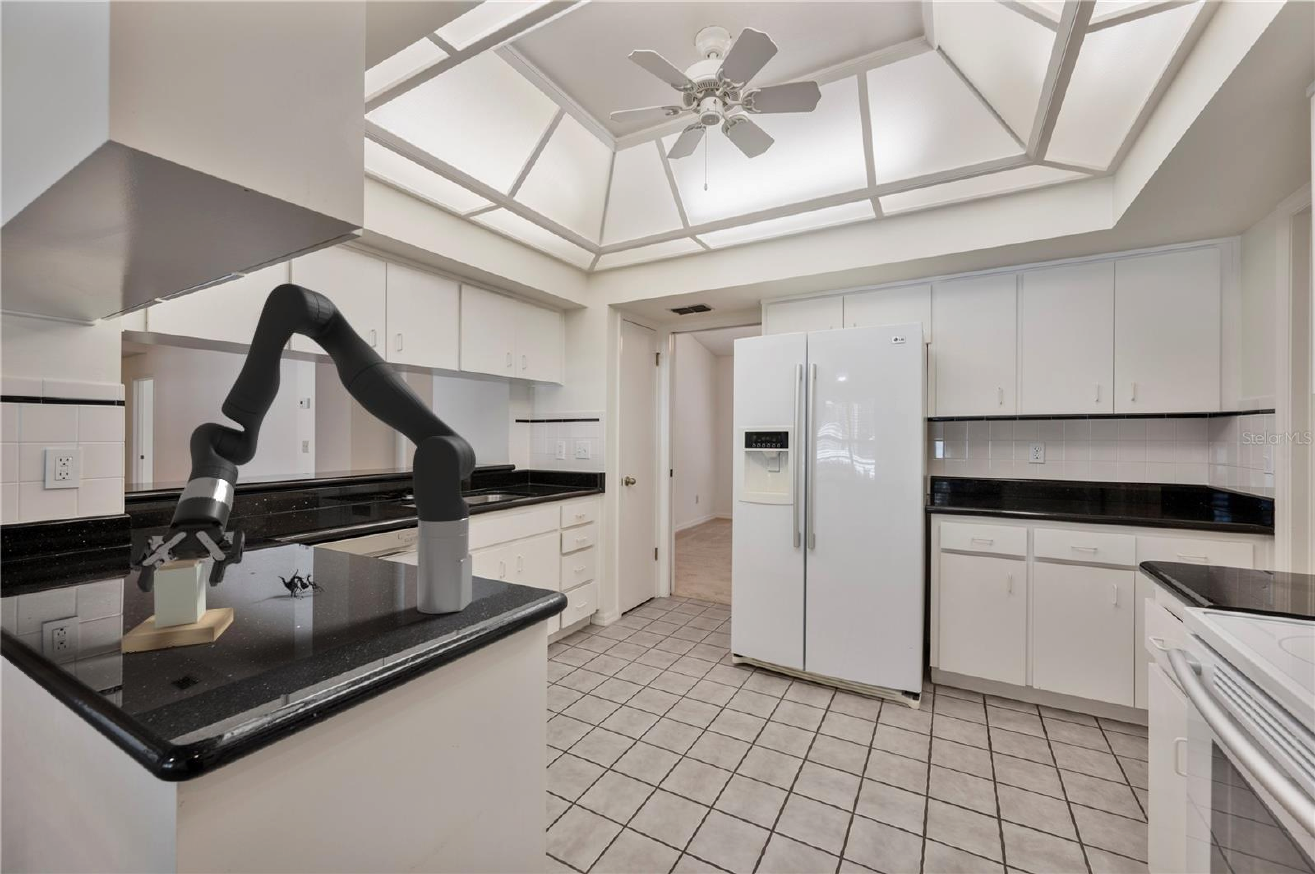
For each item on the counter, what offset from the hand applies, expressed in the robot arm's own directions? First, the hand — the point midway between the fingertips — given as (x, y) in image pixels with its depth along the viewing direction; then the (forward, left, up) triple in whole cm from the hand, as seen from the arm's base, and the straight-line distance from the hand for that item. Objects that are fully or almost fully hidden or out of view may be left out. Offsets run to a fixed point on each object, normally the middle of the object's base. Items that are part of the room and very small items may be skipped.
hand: (179, 586), depth 86 cm
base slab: (+1, -1, -9) cm, 9 cm away
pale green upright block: (+1, -1, -6) cm, 6 cm away
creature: (-4, -24, -9) cm, 26 cm away
